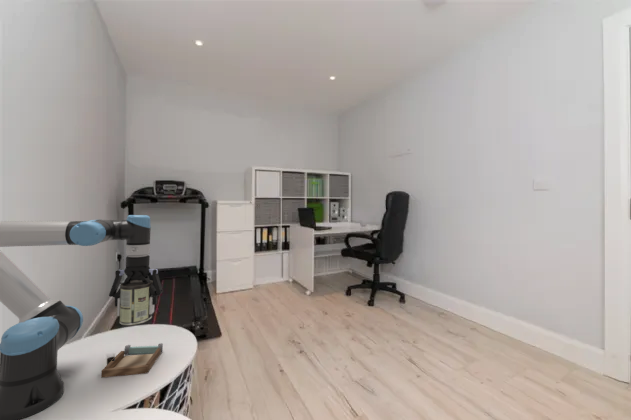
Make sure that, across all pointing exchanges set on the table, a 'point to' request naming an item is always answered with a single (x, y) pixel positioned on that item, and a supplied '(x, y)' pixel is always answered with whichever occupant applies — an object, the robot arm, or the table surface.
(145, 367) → the shallow wooden tray
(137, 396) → the table surface
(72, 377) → the table surface
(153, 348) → the gate
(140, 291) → the coffee can
